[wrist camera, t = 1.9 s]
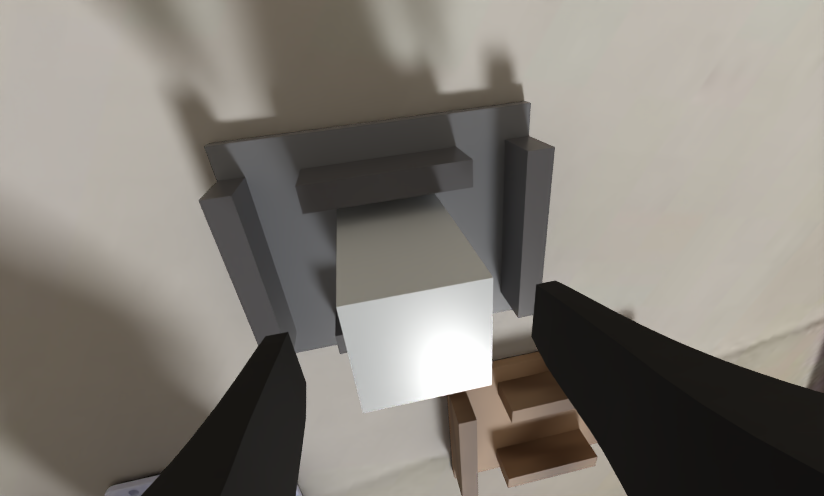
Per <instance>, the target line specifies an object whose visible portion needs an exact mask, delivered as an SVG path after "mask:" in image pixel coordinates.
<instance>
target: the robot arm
mask: <svg viewBox="0 0 824 496" xmlns="http://www.w3.org/2000/svg"><path fill="white" fill-rule="evenodd" d="M532 338H533V340H534V342H535V345H536V347H537V349H538V351H539V353H540V355H541V357H542V359H543V360H544V362H545V364H546V366H547V368H548V369H549V371H550V372H551V374H552V375H553V377H554V378H555V380H556V381H557V383H558V384H559V386H560V387H561V389H562V390H563V392H564V393H565V395H566V396H567V398H568V399H569V401H570V402H571V404H572V405H573V407H574V408H575V409H576V411H577V412H578V414H579V415H580V417H581V418H582V420H583V421H584V423H585V424H586V426H587V427H588V429H589V430H590V431H591V433H592V434H593V436H594V438H595V439H596V441H597V442H598V444H599V446H600V447H601V449H602V450H603V452H604V454H605V456H606V457H607V459H608V461H609V463H610V465H611V466H612V468H613V470H614V472H615V474H616V475H617V477H618V479H619V481H620V483H621V484H622V486H623V488H624V490H625V492H626V494H627V496H824V393H821V392H818V391H814V390H811V389H808V388H804V387H801V386H798V385H794V384H791V383H788V382H785V381H782V380H779V379H776V378H773V377H770V376H767V375H764V374H761V373H758V372H755V371H752V370H749V369H746V368H743V367H740V366H738V365H735V364H732V363H729V362H727V361H724V360H721V359H719V358H716V357H714V356H711V355H709V354H706V353H704V352H701V351H699V350H696V349H694V348H691V347H689V346H686V345H684V344H682V343H679V342H677V341H675V340H672V339H670V338H668V337H666V336H664V335H662V334H659V333H657V332H655V331H653V330H651V329H649V328H647V327H644V326H642V325H640V324H638V323H636V322H634V321H632V320H630V319H628V318H626V317H624V316H622V315H621V314H619V313H617V312H615V311H613V310H611V309H609V308H607V307H605V306H603V305H601V304H600V303H598V302H596V301H594V300H592V299H590V298H588V297H586V296H585V295H583V294H581V293H579V292H577V291H575V290H573V289H571V288H570V287H568V286H566V285H564V284H562V283H559V282H557V281H551V282H546V283H541V284H536V291H535V303H534V314H533V326H532ZM305 421H306V381H305V378H304V375H303V373H302V370H301V367H300V364H299V361H298V358H297V356H296V353H295V350H294V347H293V344H292V341H291V338H290V336H289V333H288V332H284V333H279V334H274V335H269V336H265V338H264V339H263V340H262V342H261V343H260V344H259V346H258V347H257V349H256V350H255V352H254V353H253V355H252V356H251V358H250V359H249V361H248V362H247V363H246V365H245V366H244V368H243V369H242V371H241V372H240V374H239V375H238V377H237V378H236V379H235V381H234V382H233V384H232V385H231V386H230V388H229V389H228V391H227V392H226V393H225V395H224V396H223V398H222V399H221V400H220V402H219V403H218V404H217V406H216V407H215V408H214V410H213V411H212V412H211V414H210V415H209V416H208V417H207V419H206V420H205V421H204V423H203V424H202V425H201V426H200V428H199V429H198V430H197V432H196V433H195V434H194V435H193V437H192V438H191V439H190V440H189V442H188V443H187V444H186V445H185V446H184V448H183V449H182V450H181V451H180V452H179V454H178V455H177V456H176V457H175V458H174V460H173V461H172V462H171V463H170V464H169V465H168V466H167V467H166V469H165V470H164V471H163V472H162V473H161V474H160V475H156V476H152V477H148V478H143V479H139V480H134V481H130V482H125V483H121V484H117V485H113V486H110V487H109V488H108V489H107V491H106V493H105V495H104V496H302V493H301V491H300V489H299V487H298V485H297V482H298V474H299V467H300V459H301V452H302V445H303V437H304V429H305Z"/></svg>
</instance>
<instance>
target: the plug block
mask: <svg viewBox="0 0 824 496" xmlns="http://www.w3.org/2000/svg"><path fill="white" fill-rule="evenodd" d="M336 309H337V313H338V317H339V320H340V324H341V328H342V332H343V336H344V340H345V344H346V348H347V352H348V356H349V360H350V364H351V368H352V372H353V376H354V380H355V384H356V388H357V392H358V396H359V400H360V404H361V408H362V412H363V413H367V412H372V411H376V410H381V409H385V408H390V407H394V406H399V405H403V404H408V403H412V402H417V401H421V400H426V399H430V398H435V397H439V396H444V395H448V394H453V393H457V392H462V391H466V390H471V389H475V388H480V387H484V386H489V385H492V330H493V276H492V275H491V274H490V272H489V271H488V269H487V268H486V266H485V265H484V264H483V262H482V261H481V259H480V258H479V256H478V255H477V253H476V252H475V251H474V249H473V248H472V246H471V245H470V243H469V242H468V240H467V239H466V238H465V236H464V235H463V233H462V232H461V230H460V229H459V228H458V226H457V225H456V223H455V222H454V220H453V219H452V217H451V216H450V215H449V213H448V212H447V210H446V209H445V207H444V206H443V204H442V203H441V202H440V200H439V199H438V197H437V196H436V194H435V193H434V194H428V195H421V196H415V197H409V198H402V199H396V200H390V201H384V202H377V203H371V204H365V205H358V206H352V207H346V208H339V209H337V257H336Z"/></svg>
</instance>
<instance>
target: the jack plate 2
mask: <svg viewBox="0 0 824 496" xmlns="http://www.w3.org/2000/svg"><path fill="white" fill-rule="evenodd" d="M447 401H448V414H449V427H450V441H451V454H452V468H453V474H454V477H455V478H457V480H458V484H459V488H460V491H461V495H462V496H478V472H482V471H486V470H490V469H494V468H498V467H500V468H501V471H502V473H503V476H504V478H505V481H506V484H507V486H508V488H510V487H514V486H518V485H522V484H526V483H530V482H534V481H538V480H541V479H545V478H549V477H553V476H557V475H561V474H565V473H569V472H573V471H577V470H581V469H585V468H588V467H592V466H595V465H596V461H597V455H596V454H595V452H594V451H593V449H592V447H591V446H590V445H591V444H595V443H598V442H597V441H596V439H595V438H594V436H593V434H592V433H591V431H590V430H589V429H588V427H587V426H586V424H585V423H584V421H583V420H582V418H581V417H580V415H579V414H578V412H577V411H576V409H575V408H574V407H573V405H572V404H571V402H570V401H569V399H568V398H567V396H566V395H565V393H564V392H563V390H562V389H561V387H560V386H559V384H558V383H557V381H556V380H555V378H554V377H553V375H552V374H551V372H550V371H549V369H548V368H547V366H546V364H545V362H544V360H543V359H542V357H541V355H540V353H539V352H534V353H529V354H525V355H520V356H515V357H511V358H506V359H501V360H497V361H492V385H489V386H484V387H480V388H475V389H471V390H466V391H462V392H457V393H453V394H448V395H447Z"/></svg>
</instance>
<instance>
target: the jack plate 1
mask: <svg viewBox="0 0 824 496" xmlns="http://www.w3.org/2000/svg"><path fill="white" fill-rule="evenodd" d="M530 107H531V103H530V102H526V101H523V102H516V103H508V104H501V105H493V106H486V107H478V108H471V109H463V110H456V111H448V112H441V113H433V114H426V115H419V116H411V117H404V118H396V119H389V120H381V121H374V122H366V123H359V124H351V125H344V126H336V127H329V128H321V129H314V130H306V131H299V132H291V133H284V134H277V135H269V136H262V137H254V138H247V139H239V140H232V141H224V142H217V143H209V144H207V145H206V146H204V148H205V151H206V153H207V156H208V159H209V161H210V164H211V167H212V169H213V172H214V175H215V177H216V180H217V182H216V183H215V184H214V185H213V186H212V187H211V188H210V189H209V190H208V191H207V192H206V193H205V194H204V195H203V197H202V198H201V199H200V200H199V203H200V205H201V208H202V210H203V212H204V215H205V217H206V220H207V222H208V225H209V227H210V229H211V232H212V234H213V237H214V239H215V242H216V244H217V246H218V249H219V251H220V254H221V256H222V259H223V261H224V263H225V266H226V268H227V271H228V273H229V276H230V278H231V280H232V283H233V285H234V288H235V290H236V293H237V295H238V297H239V300H240V302H241V305H242V307H243V310H244V312H245V314H246V317H247V319H248V322H249V324H250V326H251V329H252V331H253V334H254V336H255V339H256V341H257V343H258V346H259V344H260V343H261V342H262V340H263V339H264V338H265V336H269V335H274V334H279V333H284V332H288V333H289V336H290V338H291V341H292V344H293V347H294V350H295V353H298V352H303V351H308V350H313V349H318V348H323V347H328V346H333V345H338V348H339V352H340V354H342V353H347V348H346V344H345V340H344V336H343V332H342V328H341V324H340V320H339V317H338V313H337V309H336V257H337V209H339V208H346V207H352V206H358V205H365V204H371V203H377V202H384V201H390V200H396V199H402V198H409V197H415V196H421V195H428V194H434V193H435V194H436V196H437V197H438V199H439V200H440V202H441V203H442V204H443V206H444V207H445V209H446V210H447V212H448V213H449V215H450V216H451V217H452V219H453V220H454V222H455V223H456V225H457V226H458V228H459V229H460V230H461V232H462V233H463V235H464V236H465V238H466V239H467V240H468V242H469V243H470V245H471V246H472V248H473V249H474V251H475V252H476V253H477V255H478V256H479V258H480V259H481V261H482V262H483V264H484V265H485V266H486V268H487V269H488V271H489V272H490V274H491V275H492V276H493V313H498V312H503V311H508V310H513V311H514V313H515V314H516V315H517V317H518V318H520V317H525V316H530V315H533V314H534V303H535V291H536V284H541V283H542V278H543V268H544V257H545V246H546V236H547V225H548V215H549V204H550V193H551V183H552V172H553V161H554V151H555V147H553V146H551V145H548V144H546V143H544V142H542V141H539V140H537V139H535V138H532V137H530V136H529V124H530Z"/></svg>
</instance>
